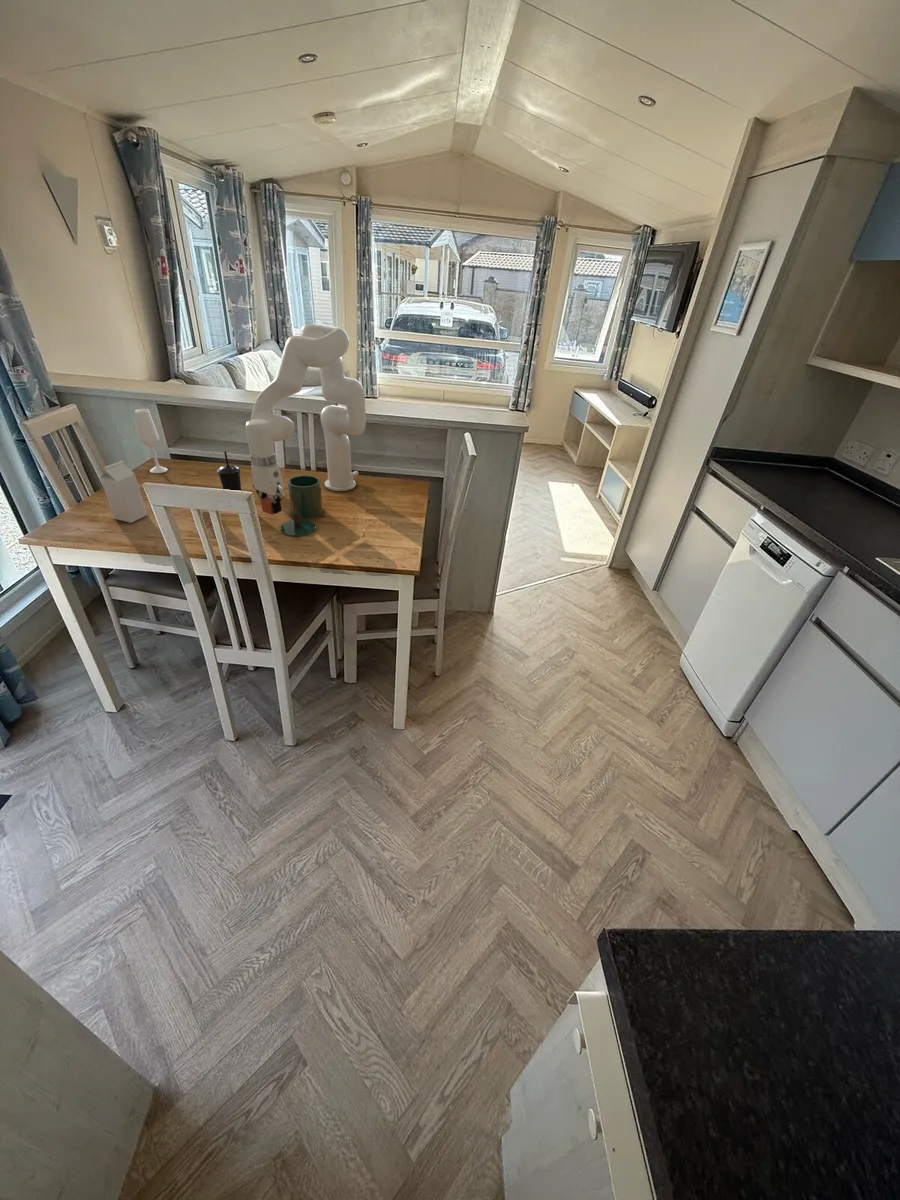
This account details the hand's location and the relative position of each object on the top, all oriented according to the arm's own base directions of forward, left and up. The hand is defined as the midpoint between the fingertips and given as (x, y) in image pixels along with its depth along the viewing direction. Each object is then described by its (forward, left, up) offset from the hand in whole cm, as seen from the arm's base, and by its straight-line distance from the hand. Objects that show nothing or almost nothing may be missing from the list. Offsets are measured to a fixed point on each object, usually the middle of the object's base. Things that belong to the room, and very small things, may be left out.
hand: (272, 509), depth 175 cm
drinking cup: (-1, -21, -5) cm, 22 cm away
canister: (-12, +5, -5) cm, 14 cm away
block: (0, 0, 0) cm, 0 cm away
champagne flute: (-5, -71, -5) cm, 71 cm away
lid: (0, +11, -4) cm, 12 cm away
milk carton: (+27, -40, -5) cm, 48 cm away
